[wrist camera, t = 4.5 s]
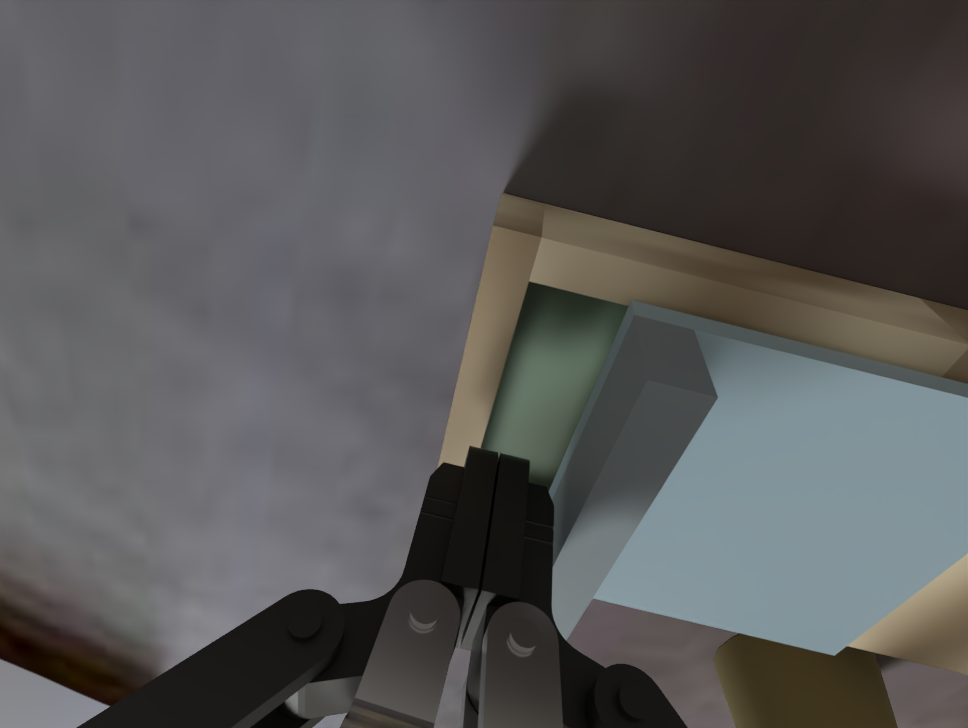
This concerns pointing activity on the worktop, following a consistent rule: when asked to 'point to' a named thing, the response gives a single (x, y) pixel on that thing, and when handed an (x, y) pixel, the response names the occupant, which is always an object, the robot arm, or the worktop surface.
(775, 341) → the cover
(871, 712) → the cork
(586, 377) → the board
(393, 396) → the worktop surface
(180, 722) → the robot arm
